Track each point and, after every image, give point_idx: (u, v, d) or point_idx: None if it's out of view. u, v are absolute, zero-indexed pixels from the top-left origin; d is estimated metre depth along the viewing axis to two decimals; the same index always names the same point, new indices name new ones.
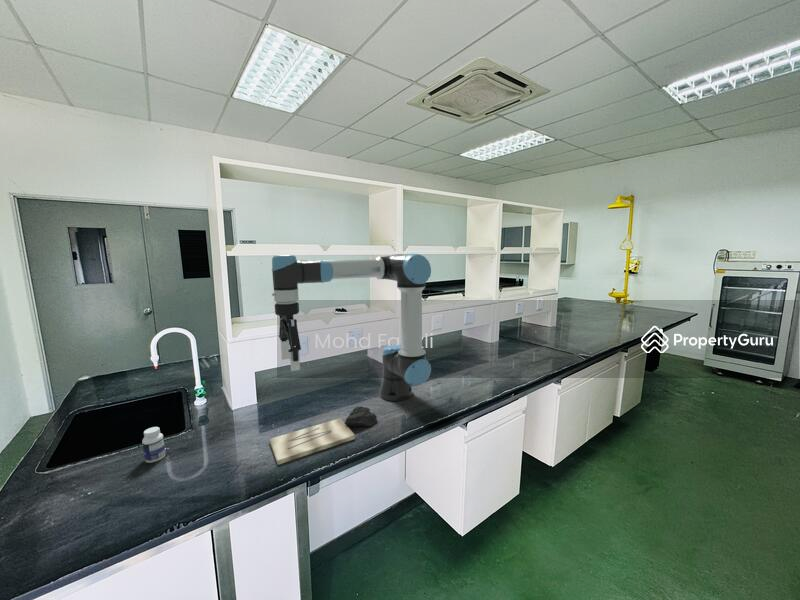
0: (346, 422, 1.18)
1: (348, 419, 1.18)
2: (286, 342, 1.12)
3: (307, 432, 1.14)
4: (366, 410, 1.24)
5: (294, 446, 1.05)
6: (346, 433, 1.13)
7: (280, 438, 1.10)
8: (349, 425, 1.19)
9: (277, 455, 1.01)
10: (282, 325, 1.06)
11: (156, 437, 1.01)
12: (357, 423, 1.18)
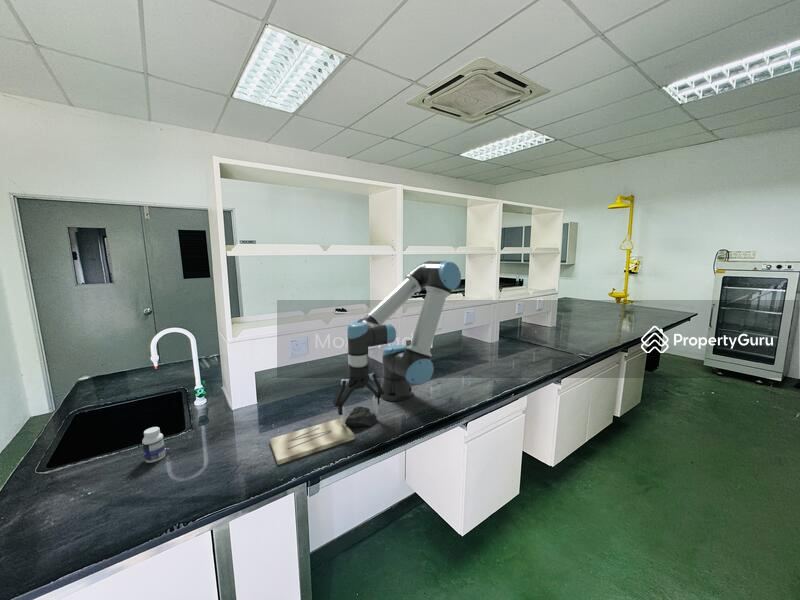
0: (346, 422, 1.18)
1: (348, 419, 1.18)
2: (374, 398, 1.24)
3: (307, 432, 1.14)
4: (366, 410, 1.24)
5: (294, 446, 1.05)
6: (346, 433, 1.13)
7: (280, 438, 1.10)
8: (349, 425, 1.19)
9: (277, 455, 1.01)
10: None
11: (156, 437, 1.01)
12: (357, 423, 1.18)
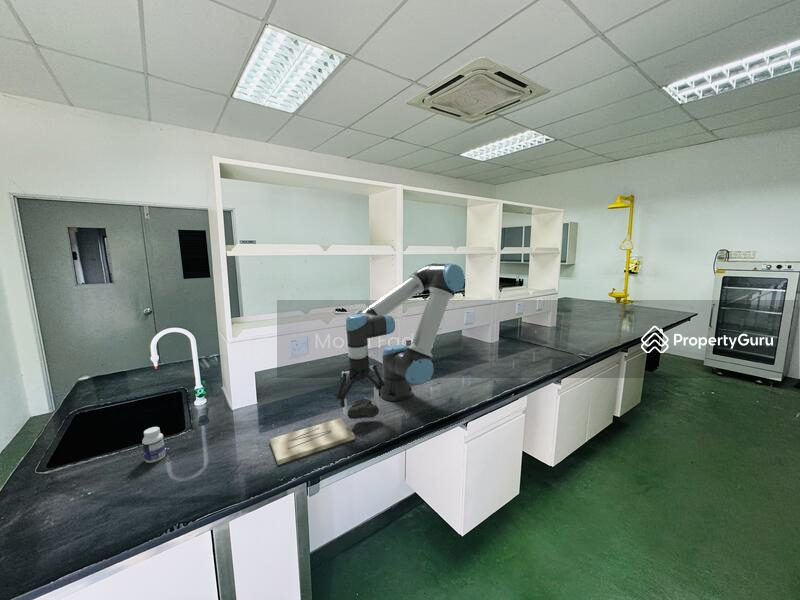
0: (348, 414, 1.18)
1: (350, 411, 1.18)
2: (375, 390, 1.24)
3: (307, 432, 1.14)
4: (368, 402, 1.24)
5: (294, 446, 1.05)
6: (346, 433, 1.13)
7: (280, 438, 1.10)
8: (351, 417, 1.19)
9: (277, 455, 1.01)
10: None
11: (156, 437, 1.01)
12: (359, 415, 1.19)
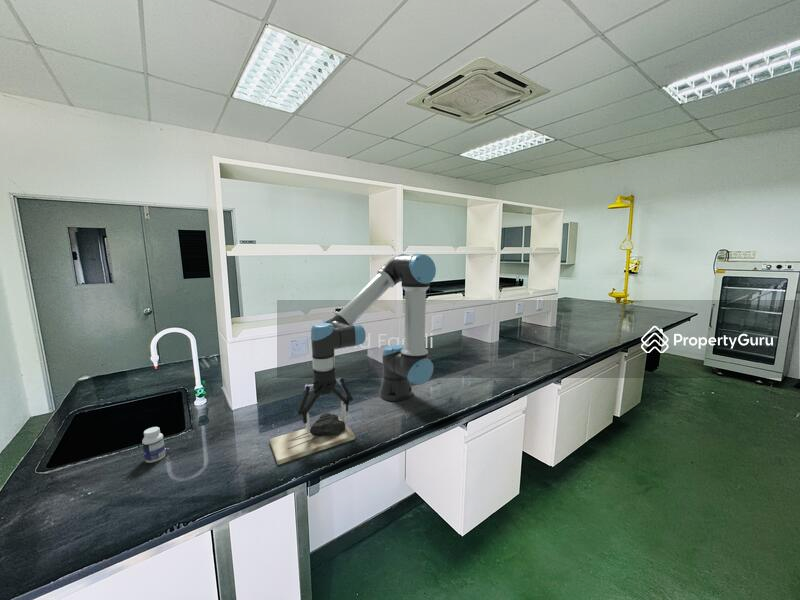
0: (311, 430, 1.09)
1: (313, 427, 1.10)
2: (342, 405, 1.16)
3: (307, 432, 1.14)
4: (334, 417, 1.15)
5: (294, 446, 1.05)
6: (346, 433, 1.13)
7: (280, 438, 1.10)
8: (314, 434, 1.11)
9: (277, 455, 1.01)
10: None
11: (156, 437, 1.01)
12: (322, 432, 1.10)
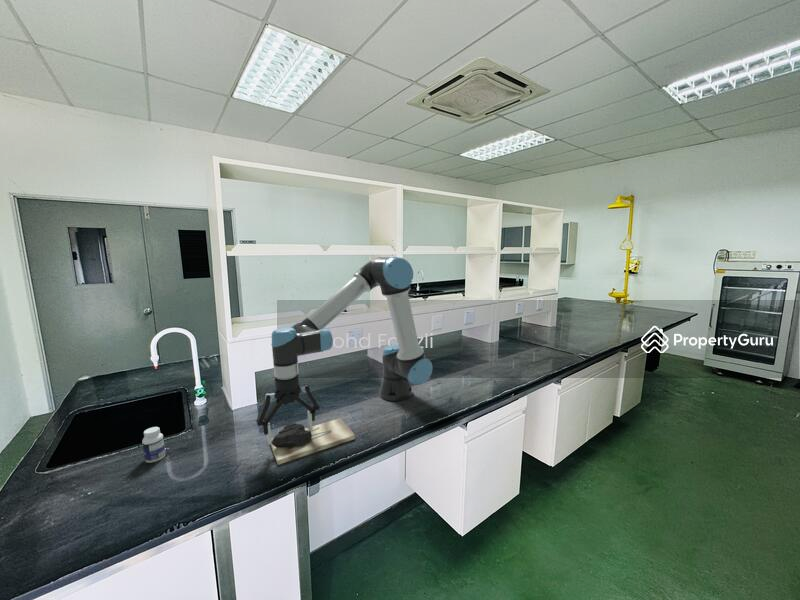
0: (273, 442, 1.03)
1: (275, 439, 1.03)
2: (308, 414, 1.09)
3: None
4: (299, 427, 1.09)
5: (294, 446, 1.05)
6: (346, 433, 1.13)
7: None
8: (277, 445, 1.04)
9: (277, 455, 1.01)
10: None
11: (156, 437, 1.01)
12: (285, 443, 1.03)
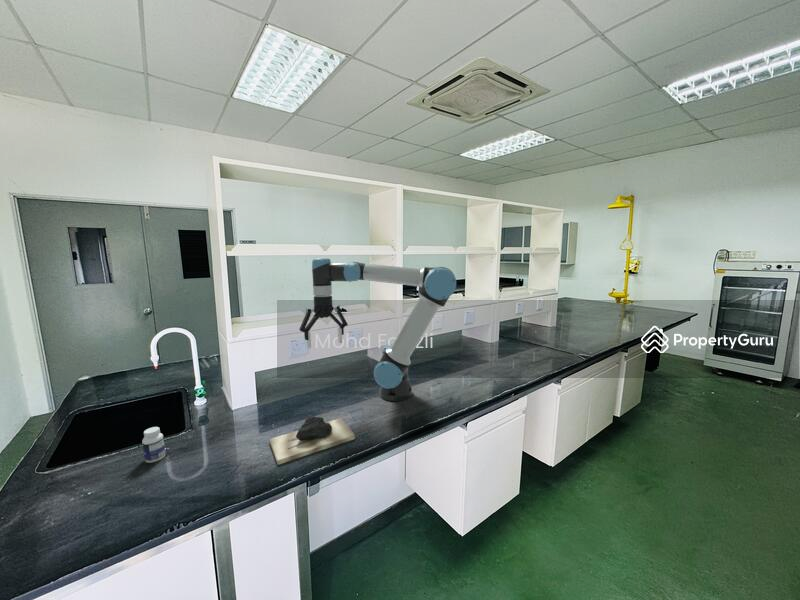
0: (297, 436, 1.07)
1: (300, 432, 1.07)
2: (339, 329, 1.38)
3: None
4: (320, 420, 1.13)
5: (294, 446, 1.05)
6: (346, 433, 1.13)
7: (280, 438, 1.10)
8: (301, 438, 1.08)
9: (277, 455, 1.01)
10: None
11: (156, 437, 1.01)
12: (310, 436, 1.08)
